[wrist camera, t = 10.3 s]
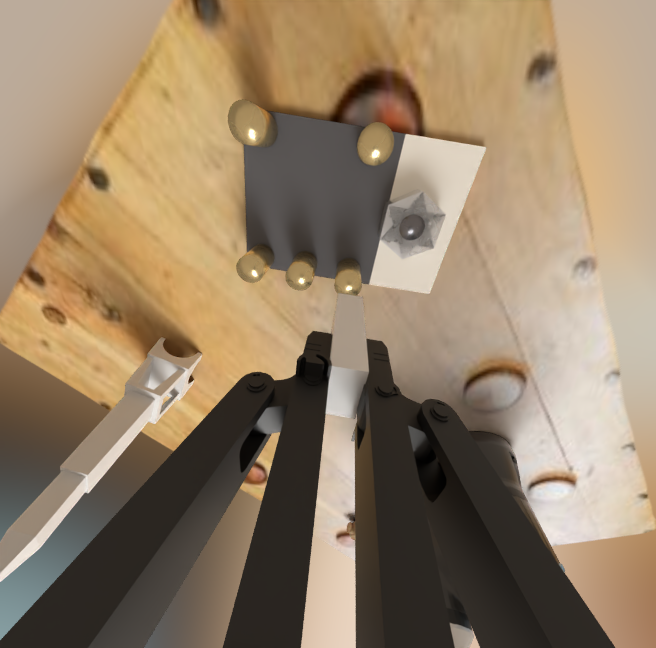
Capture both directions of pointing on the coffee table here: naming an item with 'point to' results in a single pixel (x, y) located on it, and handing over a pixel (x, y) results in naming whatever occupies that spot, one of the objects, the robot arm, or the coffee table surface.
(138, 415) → the sculpture
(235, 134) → the spacers
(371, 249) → the mat
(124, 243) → the coffee table surface
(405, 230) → the nut
